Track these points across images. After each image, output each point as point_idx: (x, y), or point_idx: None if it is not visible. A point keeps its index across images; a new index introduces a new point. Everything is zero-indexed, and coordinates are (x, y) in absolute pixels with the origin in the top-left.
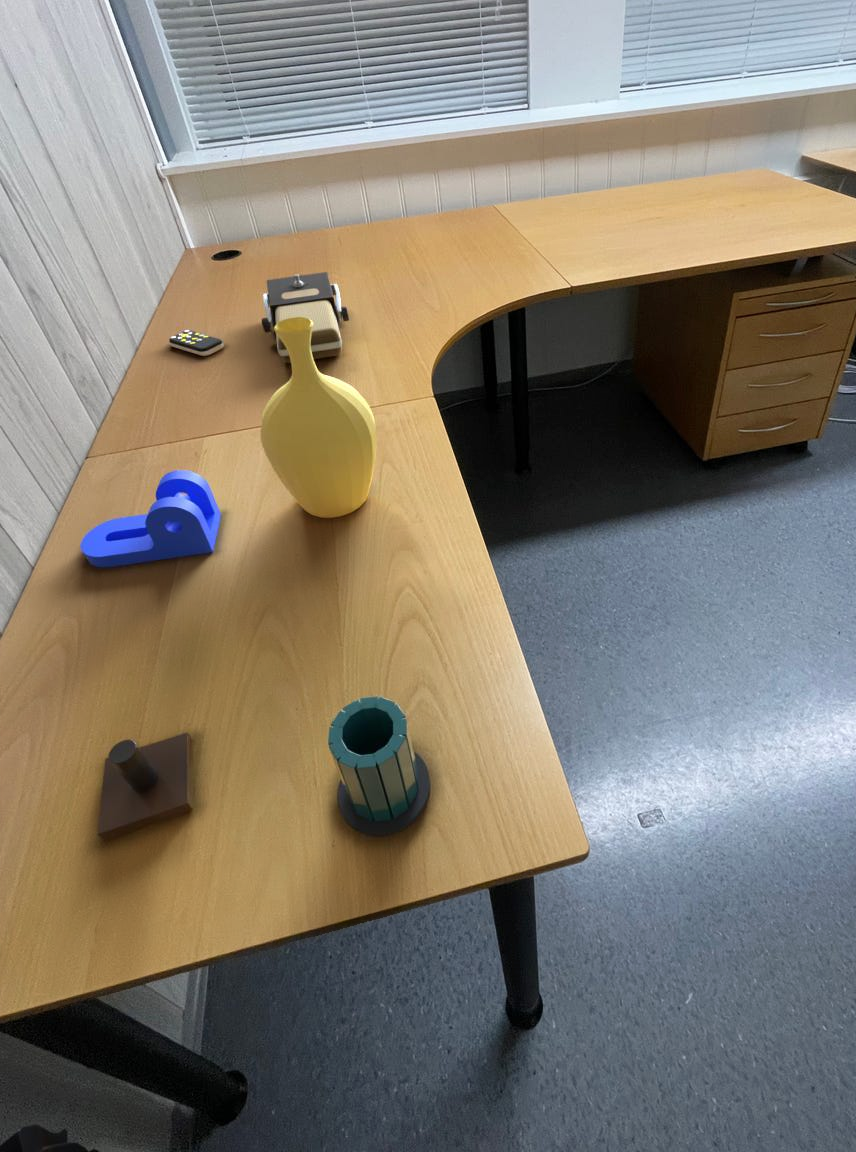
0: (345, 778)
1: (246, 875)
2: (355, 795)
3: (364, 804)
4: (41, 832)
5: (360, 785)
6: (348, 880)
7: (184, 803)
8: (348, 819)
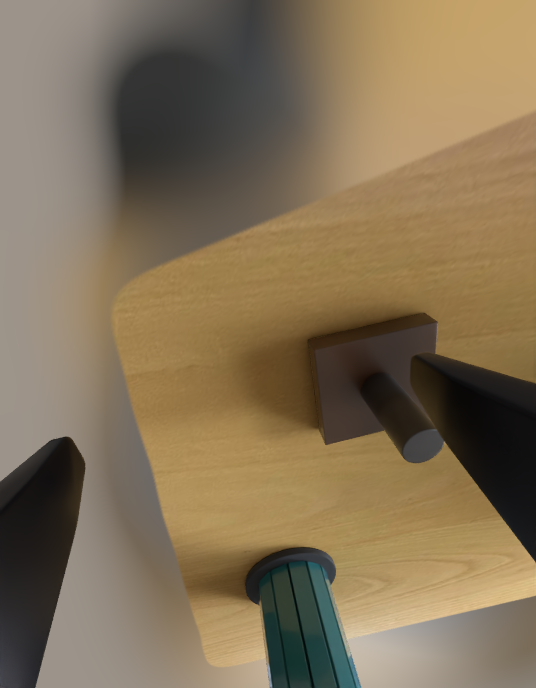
0: (283, 670)
1: (230, 495)
2: (273, 630)
3: (266, 619)
4: (349, 238)
5: (272, 675)
6: (210, 566)
7: (326, 441)
8: (266, 565)
